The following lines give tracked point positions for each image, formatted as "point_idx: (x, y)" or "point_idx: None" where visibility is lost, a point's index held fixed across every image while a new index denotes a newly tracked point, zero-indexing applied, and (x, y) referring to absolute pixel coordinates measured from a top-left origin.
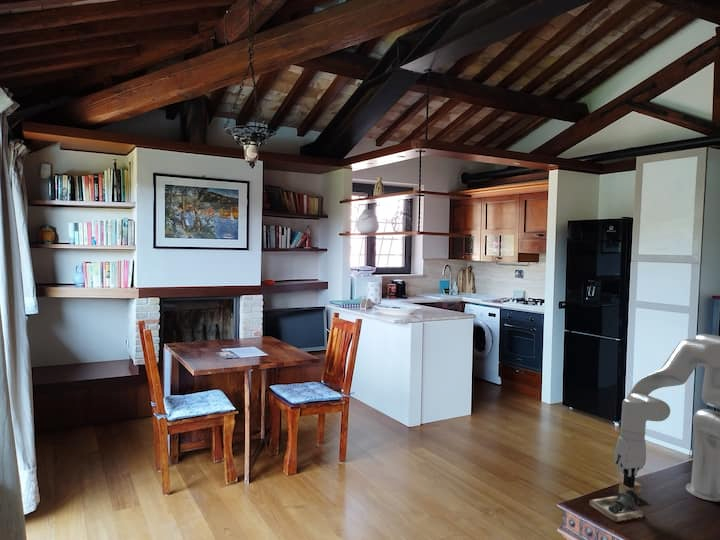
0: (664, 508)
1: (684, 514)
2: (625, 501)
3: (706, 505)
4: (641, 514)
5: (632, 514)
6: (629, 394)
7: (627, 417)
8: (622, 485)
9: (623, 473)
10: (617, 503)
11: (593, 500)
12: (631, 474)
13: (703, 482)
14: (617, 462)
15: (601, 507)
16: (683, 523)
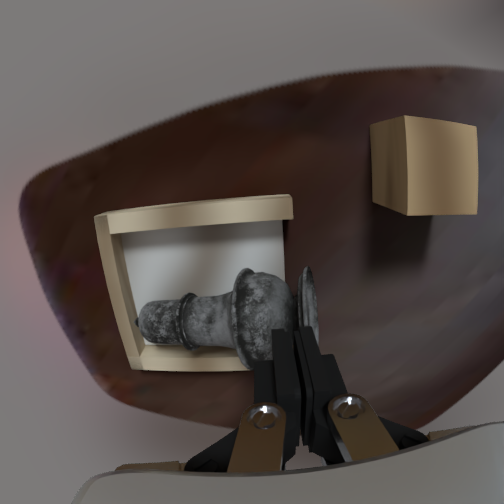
0: (444, 304)
1: (460, 347)
2: (228, 346)
3: None
4: None
5: (229, 368)
6: None
7: None
8: (395, 144)
9: (246, 418)
10: (176, 338)
11: (108, 225)
12: (312, 445)
13: None
14: (147, 497)
15: (110, 296)
16: (399, 395)
